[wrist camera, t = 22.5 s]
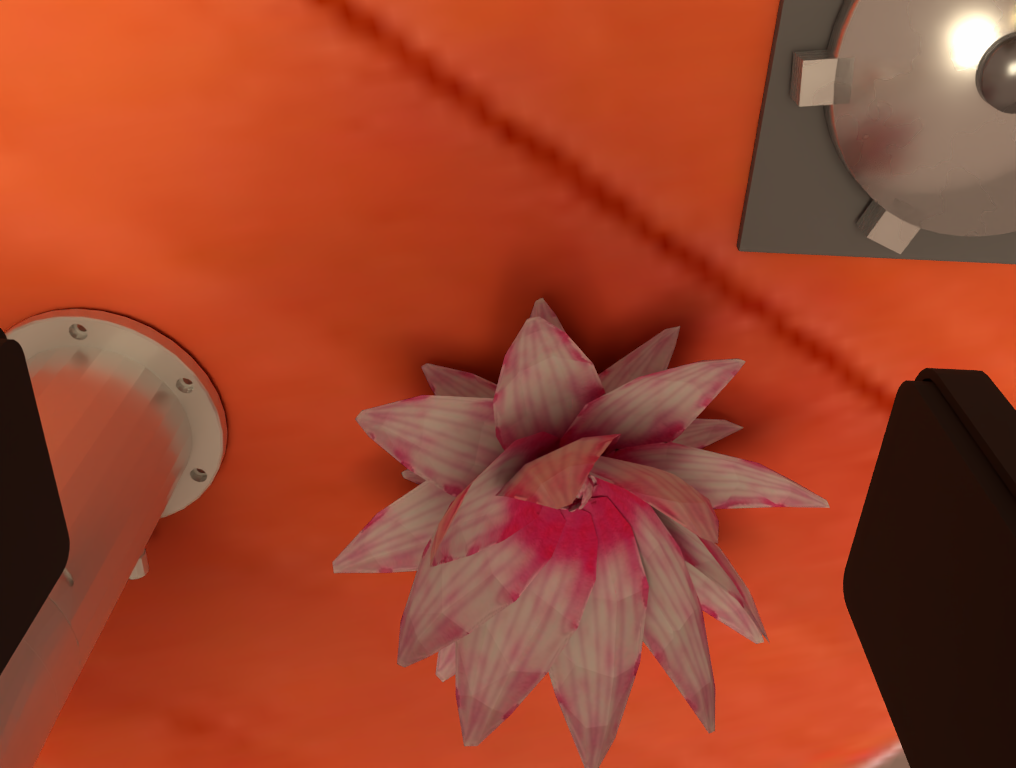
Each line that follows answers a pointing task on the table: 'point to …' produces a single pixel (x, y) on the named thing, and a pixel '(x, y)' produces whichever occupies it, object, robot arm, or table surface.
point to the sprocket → (921, 113)
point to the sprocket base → (822, 169)
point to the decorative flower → (565, 528)
